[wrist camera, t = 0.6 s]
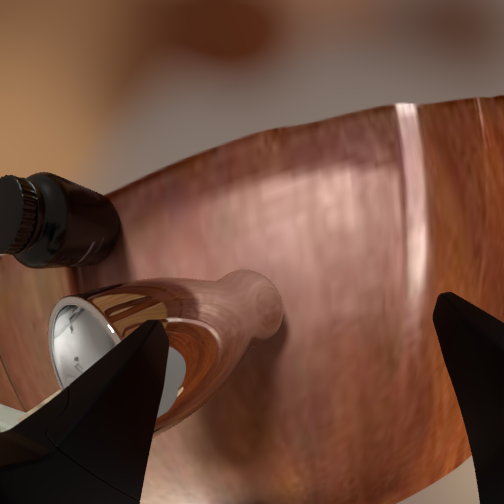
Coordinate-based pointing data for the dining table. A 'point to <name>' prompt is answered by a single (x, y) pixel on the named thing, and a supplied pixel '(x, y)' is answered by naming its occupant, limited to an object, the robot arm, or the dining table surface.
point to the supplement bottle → (55, 222)
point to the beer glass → (169, 331)
